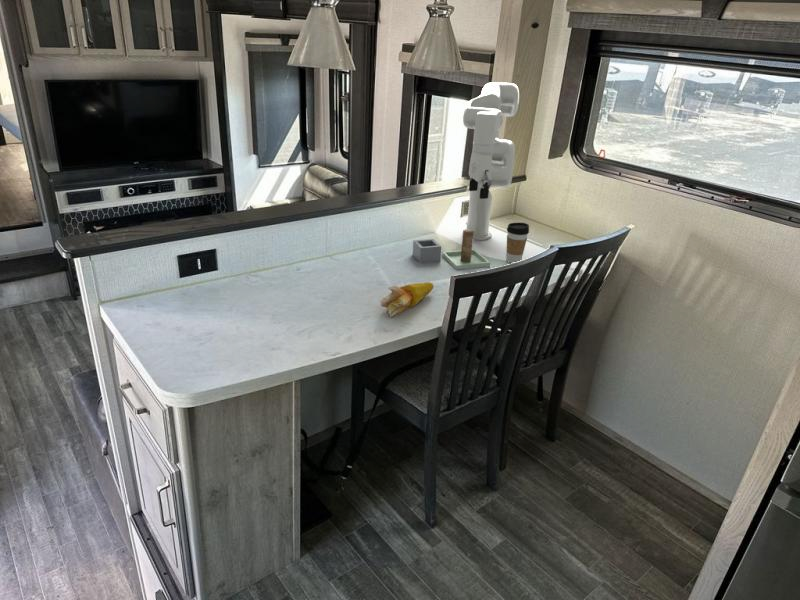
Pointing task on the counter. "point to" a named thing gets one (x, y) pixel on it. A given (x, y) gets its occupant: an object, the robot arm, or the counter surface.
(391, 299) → the corn cob
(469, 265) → the sage tray
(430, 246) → the square cup
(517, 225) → the coffee cup
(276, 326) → the counter surface
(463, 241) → the walnut dowel
